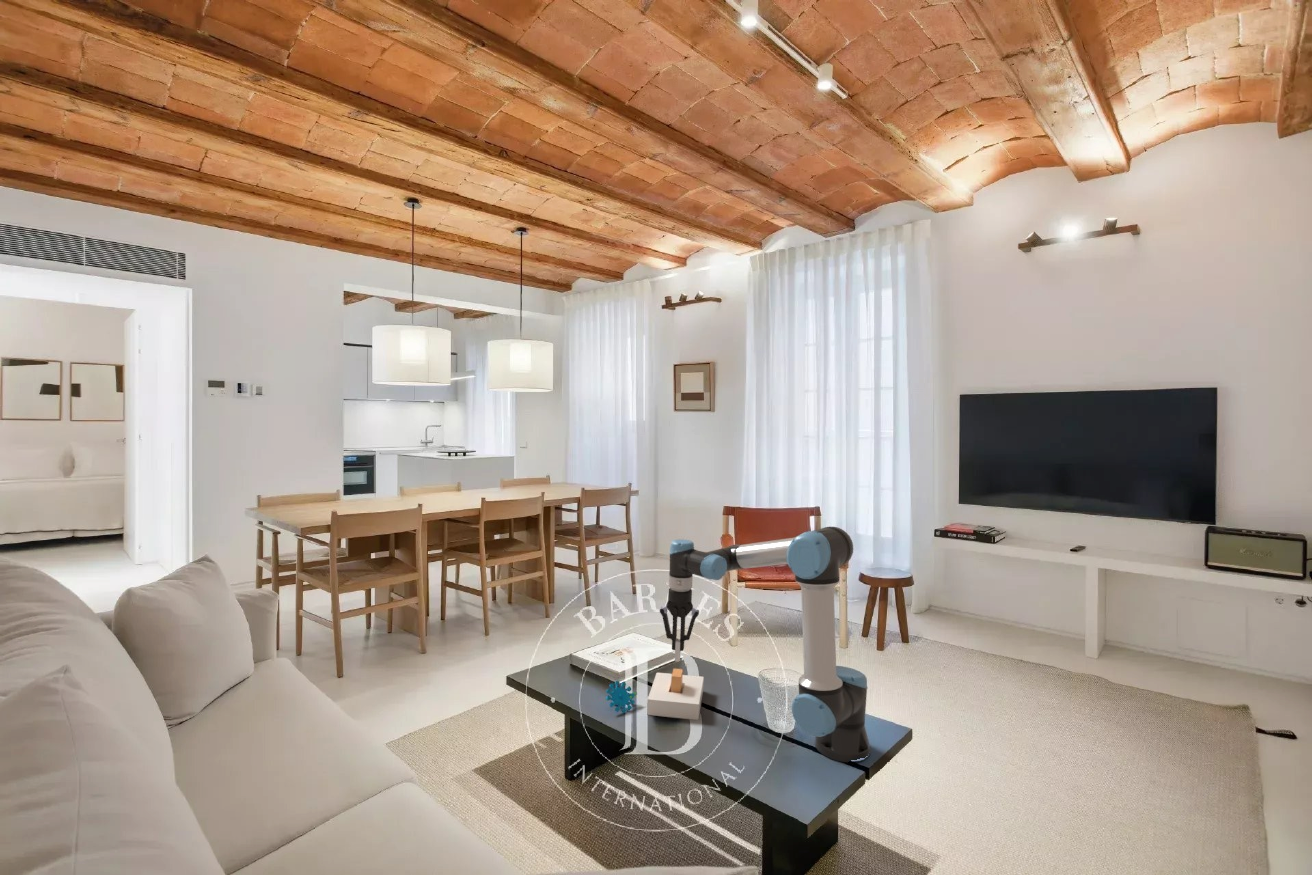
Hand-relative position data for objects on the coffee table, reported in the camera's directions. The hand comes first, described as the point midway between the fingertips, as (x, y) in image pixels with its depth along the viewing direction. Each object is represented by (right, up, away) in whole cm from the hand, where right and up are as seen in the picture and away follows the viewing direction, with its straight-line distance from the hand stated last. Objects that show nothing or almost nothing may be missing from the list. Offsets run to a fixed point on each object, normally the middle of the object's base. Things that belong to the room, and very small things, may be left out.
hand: (677, 659), depth 215 cm
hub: (0, -14, +1) cm, 14 cm away
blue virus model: (-18, -14, -4) cm, 23 cm away
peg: (0, -14, +1) cm, 14 cm away
